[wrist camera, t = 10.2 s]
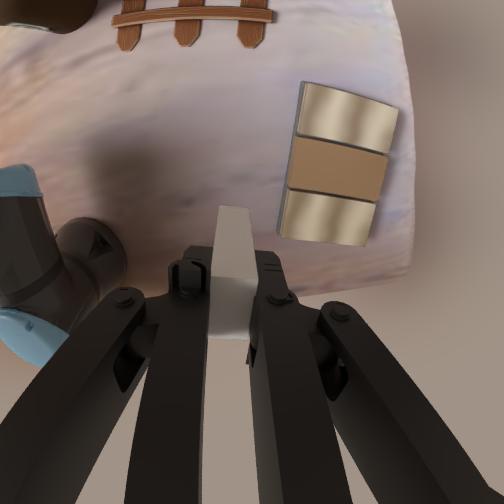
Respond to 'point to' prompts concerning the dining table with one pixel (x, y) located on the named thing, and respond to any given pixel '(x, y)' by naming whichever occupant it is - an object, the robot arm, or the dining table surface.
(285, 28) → the dining table surface
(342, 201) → the plank
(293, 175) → the floor board
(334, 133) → the plank
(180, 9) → the decorative fence
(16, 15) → the olive oil
